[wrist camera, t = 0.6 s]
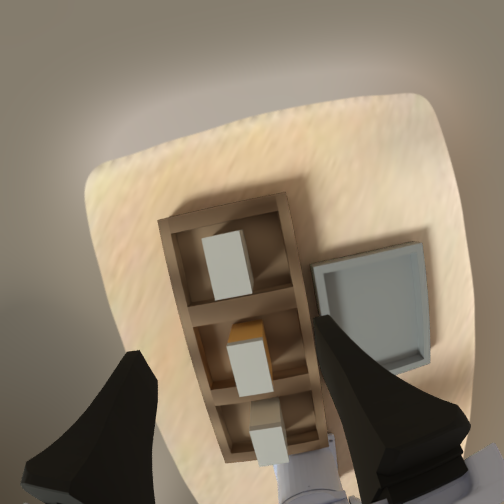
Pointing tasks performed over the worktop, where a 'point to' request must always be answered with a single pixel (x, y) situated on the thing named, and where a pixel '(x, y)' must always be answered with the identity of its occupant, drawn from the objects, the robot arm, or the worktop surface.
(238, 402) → the holder
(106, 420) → the robot arm
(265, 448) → the block
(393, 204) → the worktop surface
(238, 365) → the grey and orange block
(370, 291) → the tray
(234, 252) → the block
